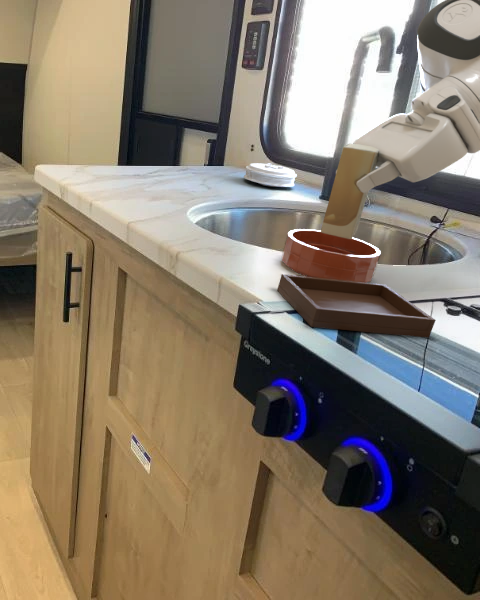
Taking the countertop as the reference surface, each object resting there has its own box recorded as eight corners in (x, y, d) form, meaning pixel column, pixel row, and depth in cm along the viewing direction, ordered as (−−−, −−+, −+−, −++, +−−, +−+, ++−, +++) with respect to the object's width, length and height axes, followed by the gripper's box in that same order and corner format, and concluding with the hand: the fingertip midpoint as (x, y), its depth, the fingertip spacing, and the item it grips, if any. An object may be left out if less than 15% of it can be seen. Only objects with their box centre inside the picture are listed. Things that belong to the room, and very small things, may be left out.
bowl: (346, 261, 95) (354, 234, 93) (388, 291, 83) (398, 261, 82) (268, 253, 94) (275, 225, 92) (299, 282, 82) (308, 251, 80)
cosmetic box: (326, 225, 90) (349, 142, 85) (357, 232, 88) (382, 147, 83) (318, 233, 84) (342, 145, 80) (351, 240, 82) (377, 150, 78)
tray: (380, 300, 79) (385, 284, 78) (429, 338, 69) (436, 320, 68) (277, 290, 78) (281, 273, 77) (311, 327, 68) (316, 308, 67)
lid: (302, 192, 149) (307, 172, 147) (254, 187, 147) (259, 167, 145) (279, 181, 160) (284, 162, 158) (235, 177, 158) (239, 158, 156)
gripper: (401, 95, 88) (316, 153, 92) (470, 103, 69) (360, 176, 73) (422, 130, 89) (338, 186, 94) (495, 147, 70) (385, 216, 75)
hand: (348, 182), depth 83 cm, fingers closed on cosmetic box, 7 cm apart
